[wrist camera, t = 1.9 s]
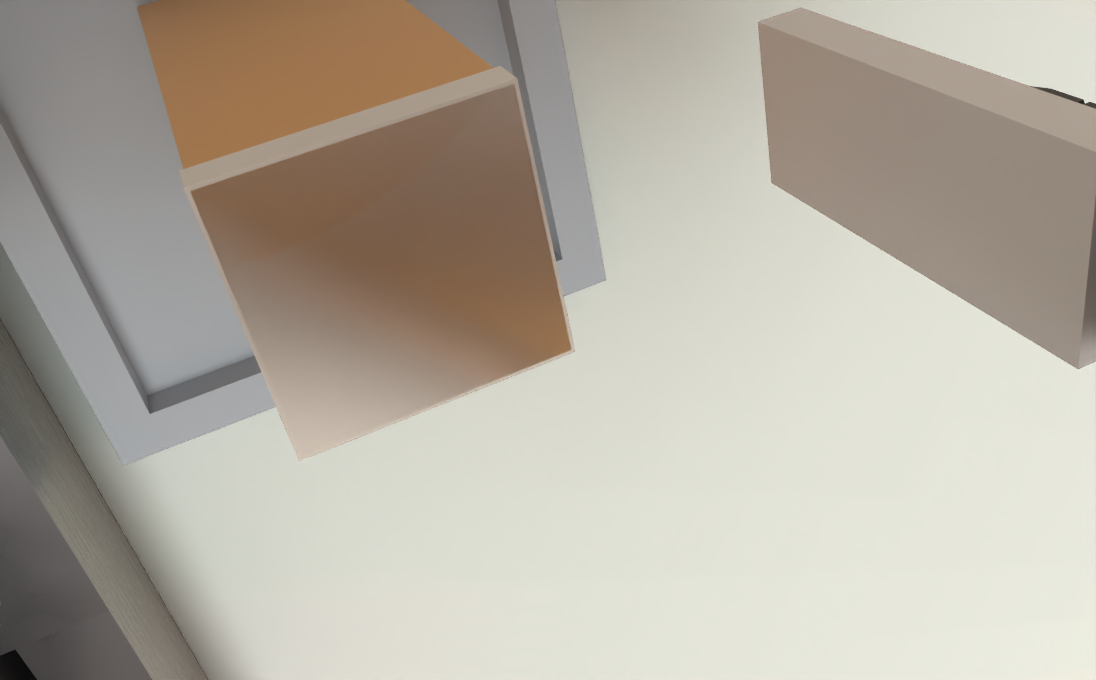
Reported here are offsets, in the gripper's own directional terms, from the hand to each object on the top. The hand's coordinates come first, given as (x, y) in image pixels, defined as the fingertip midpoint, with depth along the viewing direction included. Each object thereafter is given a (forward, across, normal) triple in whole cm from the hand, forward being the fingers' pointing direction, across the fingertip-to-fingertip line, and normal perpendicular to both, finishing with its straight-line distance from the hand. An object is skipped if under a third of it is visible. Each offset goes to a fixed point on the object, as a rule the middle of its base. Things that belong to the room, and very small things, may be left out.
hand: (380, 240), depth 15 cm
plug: (+8, 0, 0) cm, 8 cm away
